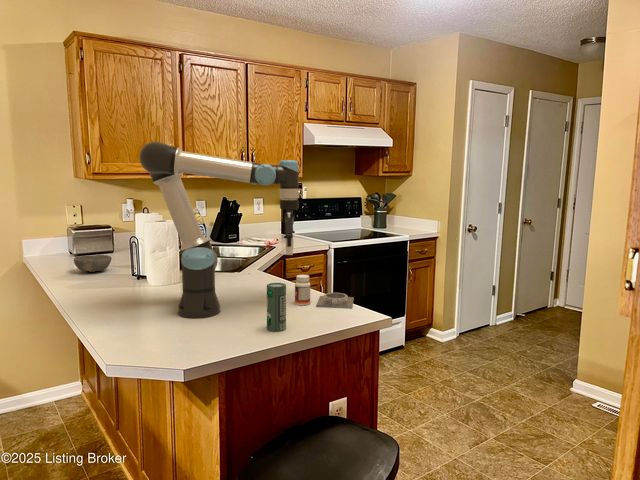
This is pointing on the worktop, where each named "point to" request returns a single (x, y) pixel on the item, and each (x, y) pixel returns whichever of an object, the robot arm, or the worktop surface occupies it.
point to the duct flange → (335, 301)
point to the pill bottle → (302, 290)
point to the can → (276, 307)
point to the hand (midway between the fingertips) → (289, 251)
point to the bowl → (92, 262)
